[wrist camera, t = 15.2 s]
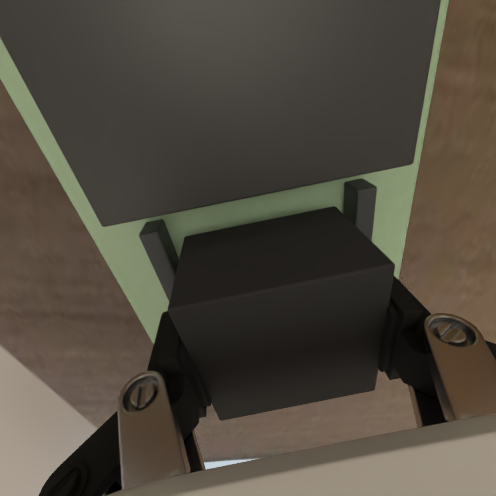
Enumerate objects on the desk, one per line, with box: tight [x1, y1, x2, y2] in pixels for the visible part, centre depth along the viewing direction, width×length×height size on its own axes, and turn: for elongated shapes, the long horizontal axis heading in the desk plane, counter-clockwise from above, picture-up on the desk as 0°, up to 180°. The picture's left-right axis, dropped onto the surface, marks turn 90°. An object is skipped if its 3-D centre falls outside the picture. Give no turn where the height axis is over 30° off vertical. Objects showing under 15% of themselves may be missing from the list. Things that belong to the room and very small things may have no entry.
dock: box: [0, 0, 449, 344], centre depth 10 cm, size 14×16×4 cm
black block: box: [168, 206, 395, 420], centre depth 10 cm, size 6×6×4 cm
